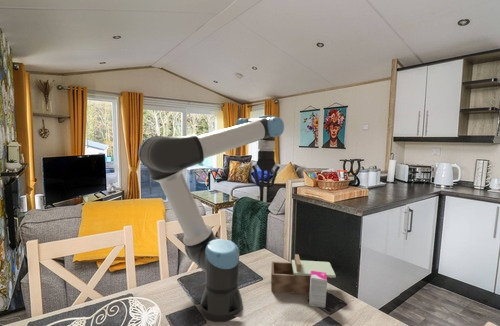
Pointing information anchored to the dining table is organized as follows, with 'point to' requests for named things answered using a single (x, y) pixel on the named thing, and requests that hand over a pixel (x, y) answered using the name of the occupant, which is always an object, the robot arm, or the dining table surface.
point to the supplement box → (318, 289)
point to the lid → (311, 267)
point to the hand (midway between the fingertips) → (264, 201)
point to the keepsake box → (288, 279)
